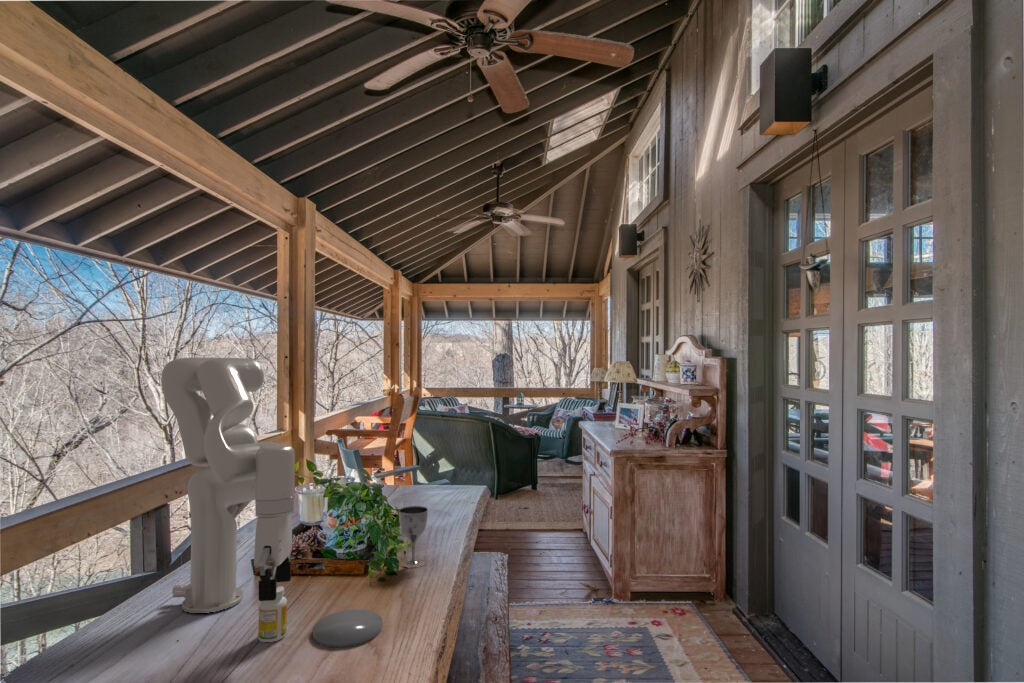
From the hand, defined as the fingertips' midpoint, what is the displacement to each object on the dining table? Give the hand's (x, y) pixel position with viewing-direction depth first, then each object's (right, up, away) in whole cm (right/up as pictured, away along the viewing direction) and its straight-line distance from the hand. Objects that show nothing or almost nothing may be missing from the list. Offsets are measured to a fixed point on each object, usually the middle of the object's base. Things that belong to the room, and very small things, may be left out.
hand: (275, 590), depth 112 cm
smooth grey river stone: (+14, -10, +3) cm, 17 cm away
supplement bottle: (-1, -10, 0) cm, 10 cm away
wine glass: (+21, -11, +41) cm, 47 cm away
